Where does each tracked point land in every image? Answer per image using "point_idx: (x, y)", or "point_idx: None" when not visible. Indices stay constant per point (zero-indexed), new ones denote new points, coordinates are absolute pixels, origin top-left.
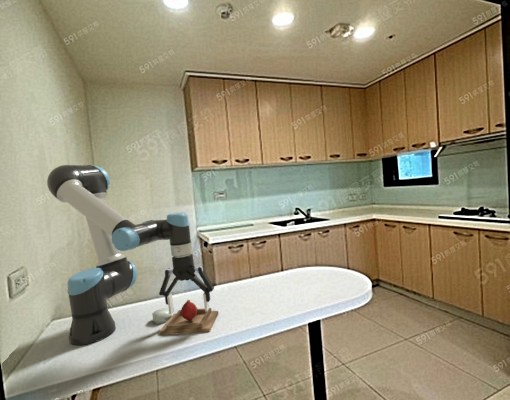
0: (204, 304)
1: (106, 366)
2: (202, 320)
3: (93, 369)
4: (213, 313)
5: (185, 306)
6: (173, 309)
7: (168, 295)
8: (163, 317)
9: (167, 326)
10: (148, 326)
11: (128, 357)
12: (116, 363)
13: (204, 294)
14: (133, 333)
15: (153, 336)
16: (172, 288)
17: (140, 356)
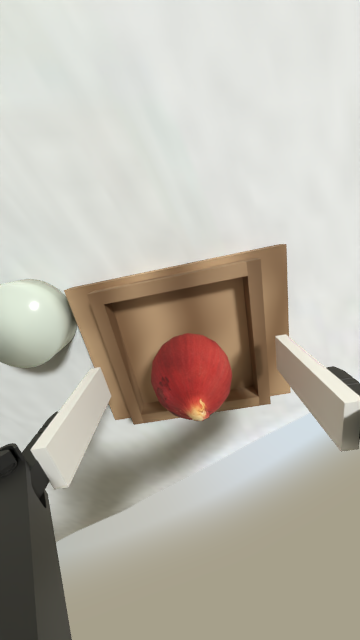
0: (297, 393)
1: (93, 516)
2: (261, 381)
3: (74, 524)
4: (270, 277)
5: (189, 419)
6: (98, 374)
7: (43, 472)
8: (57, 352)
9: (138, 422)
10: (29, 370)
11: (115, 493)
12: (106, 509)
13: (352, 448)
14: (19, 411)
15: (105, 420)
16: (37, 523)
17: (142, 489)
